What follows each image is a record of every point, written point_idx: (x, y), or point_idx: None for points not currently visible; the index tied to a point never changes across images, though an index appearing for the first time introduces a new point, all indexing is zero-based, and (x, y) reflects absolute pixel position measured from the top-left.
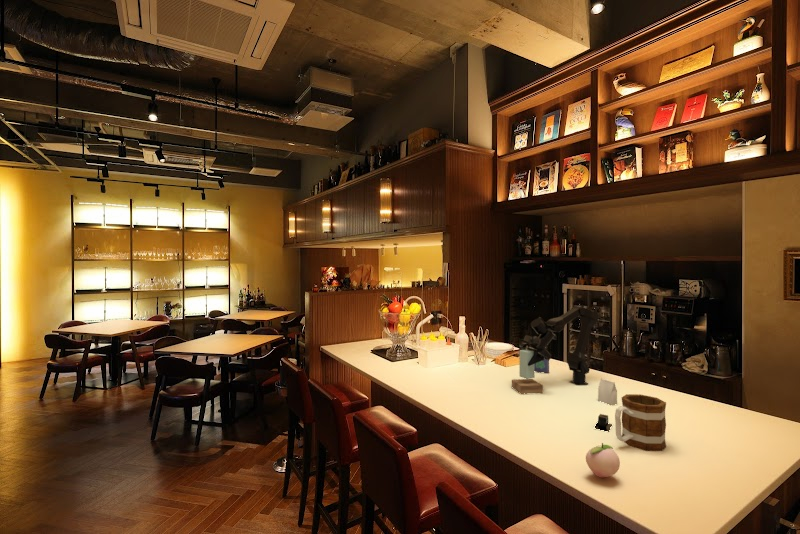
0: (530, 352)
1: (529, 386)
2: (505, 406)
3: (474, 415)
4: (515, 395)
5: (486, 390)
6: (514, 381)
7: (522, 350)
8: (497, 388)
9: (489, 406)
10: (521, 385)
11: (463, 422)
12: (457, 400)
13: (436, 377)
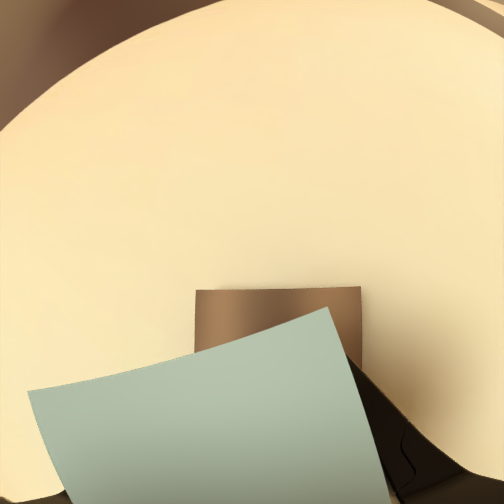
0: (85, 501)
1: (196, 350)
2: (98, 167)
3: (87, 88)
4: (202, 256)
5: (306, 141)
6: (312, 289)
7: (287, 427)
8: (340, 203)
9: (118, 120)
10: (207, 297)
11: (73, 75)
12: (200, 49)
13: (459, 55)
